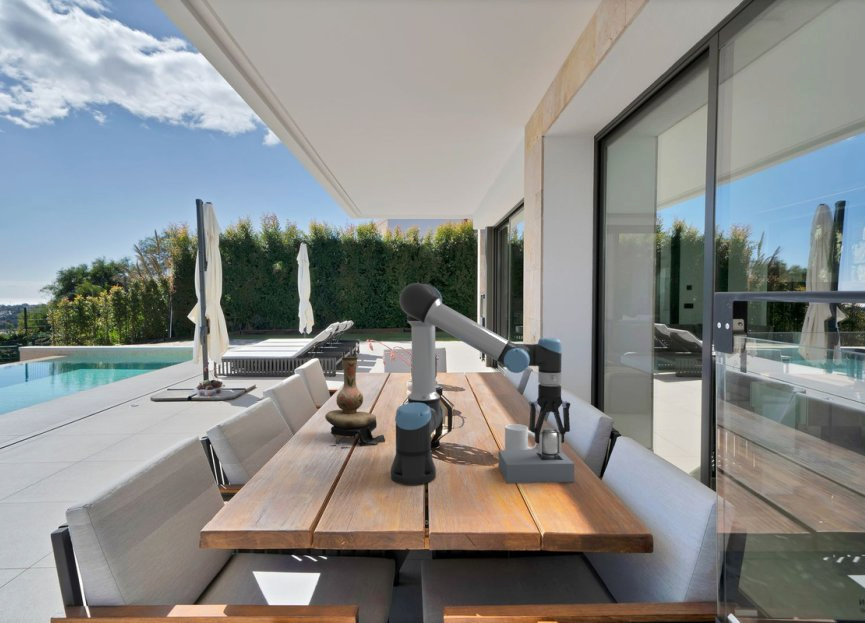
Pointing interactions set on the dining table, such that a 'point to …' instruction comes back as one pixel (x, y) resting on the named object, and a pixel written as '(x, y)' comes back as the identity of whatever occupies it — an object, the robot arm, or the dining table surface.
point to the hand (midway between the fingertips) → (549, 452)
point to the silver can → (549, 444)
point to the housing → (534, 467)
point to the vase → (352, 410)
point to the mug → (517, 437)
